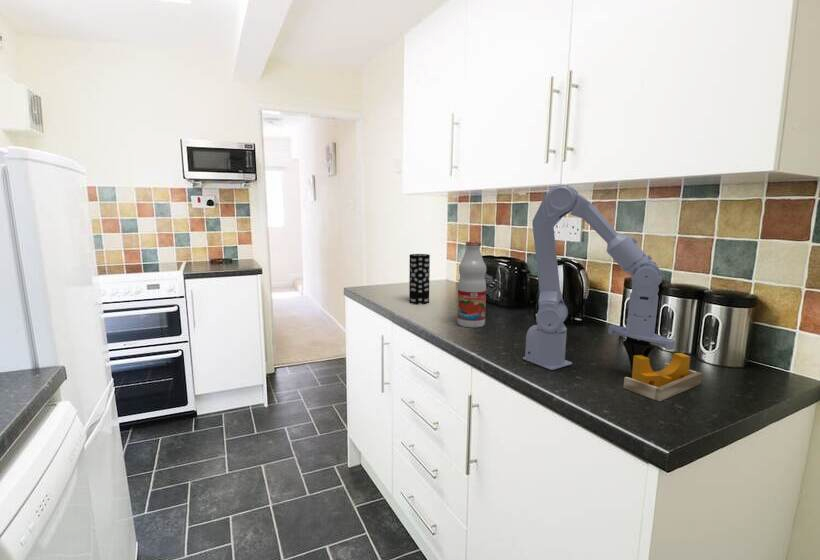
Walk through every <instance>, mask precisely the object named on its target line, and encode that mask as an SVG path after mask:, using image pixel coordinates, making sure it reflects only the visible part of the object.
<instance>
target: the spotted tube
mask: <svg viewBox="0 0 820 560" xmlns="http://www.w3.org/2000/svg"><path fill="white" fill-rule="evenodd" d="M430 259H431V255H430V254H429V253H412V254H410V253H409V277H408V278H409V279H408V280H409V284H408V285H409V286H408V287H409V290H408V291H409V297H408V299H409V301H408V303H409V302H410V303H409V304H411V303H414V304H413V305H417V304H422V305H427V303H428V304H430V276H431V275H430V271H431V269H430V266H431V265H430V264H431V263H430V262H431V260H430Z"/></svg>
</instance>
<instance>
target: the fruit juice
mask: <svg viewBox="0 0 820 560" xmlns="http://www.w3.org/2000/svg"><path fill="white" fill-rule="evenodd" d="M481 246H482V243H481V241H466V242H465V248H466V249H465V252H464V254H463V257H462V260H461V261H460V263H459V266H458V273H459V278H458V281H457V282H458V284H457V313H456V315H457V316H456V317H457V318H456V321H457V322H456V323H457V325H459V326H460V327H463V328H481V327H483V326H485V323H486V310H487V309H486V304H487V303H486V302H487V281H486V277H485V276H486V274H487V264H486V263H485V260H484V259H483V255H482V252H481Z"/></svg>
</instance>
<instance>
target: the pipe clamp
mask: <svg viewBox="0 0 820 560" xmlns="http://www.w3.org/2000/svg"><path fill="white" fill-rule="evenodd" d="M672 355H673V356H672V359H671V361H670V362H669V365H668V366H667V367H666V368H665V369H664V368H663V369H661V370H657V371H654V370H653V368H652V366H651V363H650V362H651V361H650V360H651V359H650V358H649V357H645V356H642V355H634V358H633V370H632V371H631V378H632V379H635V380H638V381H641V382H644V383H647V384H649V385H652V386H655V387H661V386H663V385H666V384H668V383H671V382H673V381H676V380H678V379H681V378H683V377H686V376H688V374H689V370H690V364H691V363H690V362H691V356H689V355H687V354H685V353H682V352H675V353H674V352H673V354H672Z"/></svg>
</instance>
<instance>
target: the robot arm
mask: <svg viewBox="0 0 820 560" xmlns="http://www.w3.org/2000/svg"><path fill="white" fill-rule="evenodd" d="M569 213H570V214H569ZM568 214H569V215H571V216H574V217H576V218H580V219H583V220H584V222H586V223H587V224H588V226H589V227H591V228H592V229H593V230H594V231H595V233H597V235H599V236H600V238H601V239H602V240H603V241H605V243H606V245H607V246H606V253H607V254H608V255H609V256H610V258H612V260H613V261H615V262H616V263H617V265H618V266H619V267H620V268H621V269H622V270H623V271H624V272H625V273H627V274H630V278H631V283H632V285H631V292H629V293H630V294H629V300H628V301H629V302H628V308H627V309H628V313H627V318H626V319H627V323H626V326H622V325H621V326H619V325H616V324H612V325H608V333H607V334H609V335H615V336H619V337H623V338H625V339H624V340H623V341H622V345H623V348H624V349H625V351H626V353H627V356H628V357H627V358H628V360H629V365H630V371H631V372H632V370H633V358H634V355H642V356H645V357H647V358H649V355H650V354H651V353H652V351H653V350H654V348H656V347H660V348H662V349H664V350H667V351H672V350H674V349H675V345H676V340H675V339H671V338H668V337H665V336H664V335H663V336H662V335H660V334H657V333H655V332H656V323H657V314H658V305H659V295H658V294H659V291H660V288H659V286H660V284H661V283H662V281H663V277H662V272H661V269H660V267H659V266H658V264H657V263H656V262H655V261H652V260H653V257H652V255H650V254H648V255H647V254H646V253H645V252H644V250H642V248H641V247H640V246H639V245H638V244H637V243H638V242H639V241H638V240H637V239H636V237H632V238H631V236H629V235H628V234H620V233H618V232H617V230H616V229H615V228H613V225H611V224H610V222H609V221H608V220H607V219H606V217H604V216H603V215H602V214H601V212H600V211H599V210H598V209H597V208H596V207H595V206H594V204H593V203H592V202H590V200H588V199H587V198H586V197H584V195H581V194H579V193H578V191H577V190H576V189H574V187H572V186H568V185H565V184H558V185H555V186H553V187H552V188H551V189H550V190H549V191H548V192H547V193H545V195H543V197H542V198H541V203H540V205H539V206H538V209H537V211H536V213H535V215H534V216H533V219H532V222H531V224H532V232H533V234H532V235H533V242H534V243H533V244H534V251H535V261H536V268H537V269H536V270H537V271H536V272H537V278H538V279H537V280H538V287H539V296H538V311H537V313H536V316H535V317H536V318H535V319H536V320H535V321H536V324H534V325H532V326H530V327H529V328H528V330H527V332H526V337H525V353H524V354H525V355H524V356H523V357H522V359H523V360H525V361H527V362H529V363H532V364H534V365H538V366H540V367H541V368H545V369H547V370H550V371H553V370H557V369H560V368H563V367H567V366H571V365H573V362H572V361H569V360H567V359H566V349H567V347H566V345H567V333H568V332H567V331H568V328H567V326H566V325H565V324H564V322H565V321H566V319H567V318H568V315H569V310H568V307H567V305H566V304H565V302H564V299H563V293H562V291H561V287H560V276H559V275H560V274H559V267H558V257H557V249H556V238H555V230H554V229H555V226H556V225H557V224H558V223H559V222H560V221H561V220H562V218H563V217H564V216H566V215H568Z"/></svg>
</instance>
